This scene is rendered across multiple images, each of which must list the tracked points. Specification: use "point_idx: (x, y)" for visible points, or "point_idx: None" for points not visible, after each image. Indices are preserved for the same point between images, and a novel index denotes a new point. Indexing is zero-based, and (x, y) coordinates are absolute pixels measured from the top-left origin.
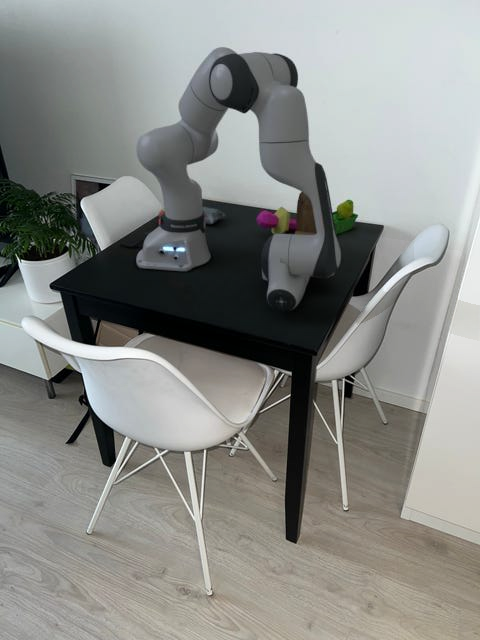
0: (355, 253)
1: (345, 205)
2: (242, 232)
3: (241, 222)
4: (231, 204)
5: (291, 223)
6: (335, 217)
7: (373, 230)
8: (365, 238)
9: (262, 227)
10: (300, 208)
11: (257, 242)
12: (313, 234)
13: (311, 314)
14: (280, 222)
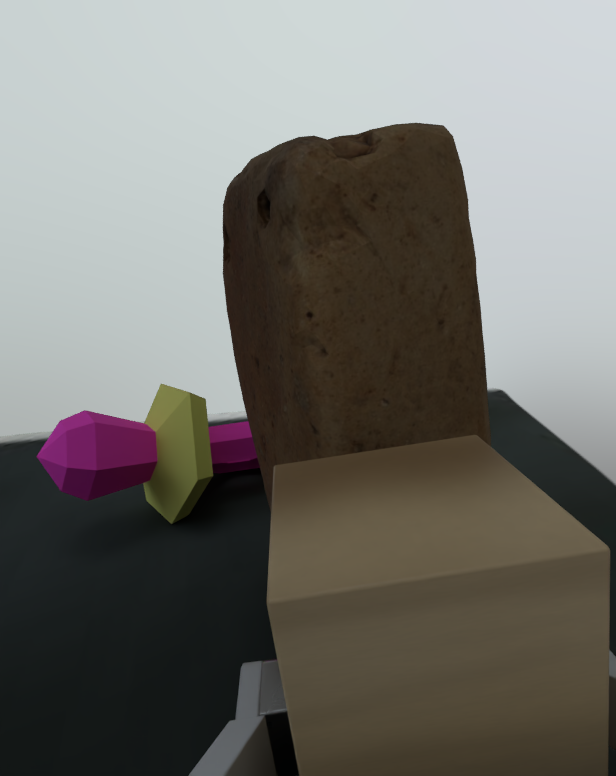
0: (585, 507)
1: None
2: (8, 538)
3: (29, 491)
4: (28, 442)
5: (222, 443)
6: None
7: (504, 405)
8: (519, 433)
9: (79, 495)
10: (258, 276)
11: (61, 582)
12: (485, 452)
13: None
14: (168, 449)
